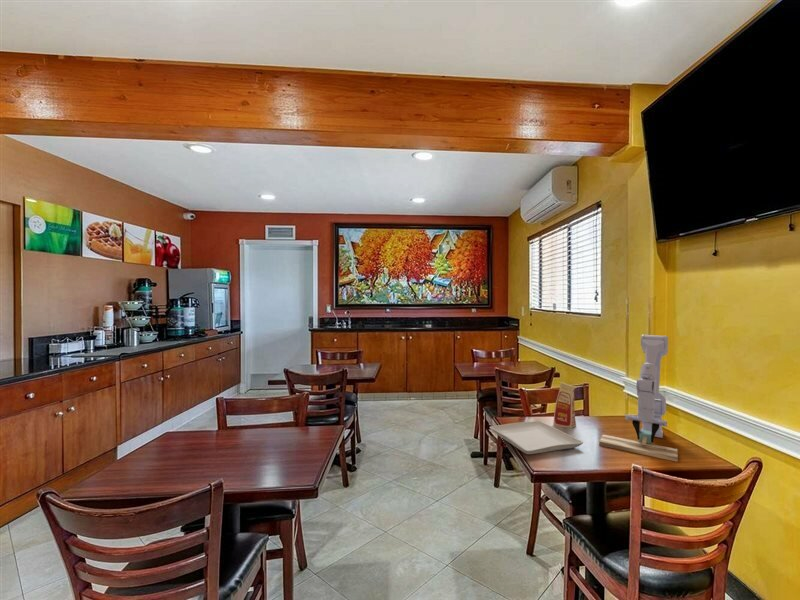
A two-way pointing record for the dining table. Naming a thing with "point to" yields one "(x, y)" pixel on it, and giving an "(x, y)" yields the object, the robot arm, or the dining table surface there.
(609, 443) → the board
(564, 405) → the milk carton
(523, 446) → the square plate
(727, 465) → the dining table surface
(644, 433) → the tan post teal base
